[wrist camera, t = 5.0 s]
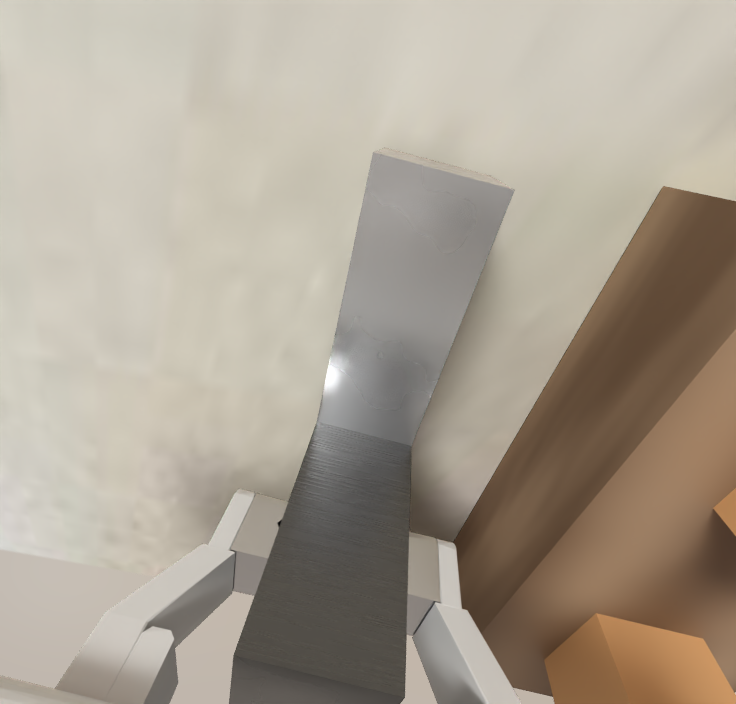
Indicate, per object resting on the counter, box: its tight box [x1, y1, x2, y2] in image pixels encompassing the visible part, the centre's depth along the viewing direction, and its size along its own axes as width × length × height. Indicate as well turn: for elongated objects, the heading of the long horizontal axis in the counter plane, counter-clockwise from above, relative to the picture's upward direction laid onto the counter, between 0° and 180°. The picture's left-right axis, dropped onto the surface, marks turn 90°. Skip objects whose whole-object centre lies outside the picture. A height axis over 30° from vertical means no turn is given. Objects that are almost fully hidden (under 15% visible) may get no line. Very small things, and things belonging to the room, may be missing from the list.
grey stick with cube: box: [229, 148, 514, 704], centre depth 11 cm, size 3×18×9 cm, turn 167°
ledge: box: [454, 186, 736, 697], centre depth 14 cm, size 10×20×5 cm, turn 167°
